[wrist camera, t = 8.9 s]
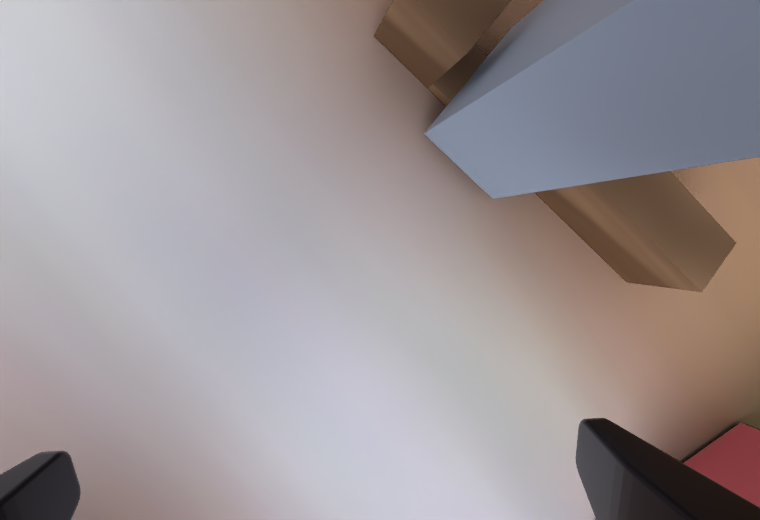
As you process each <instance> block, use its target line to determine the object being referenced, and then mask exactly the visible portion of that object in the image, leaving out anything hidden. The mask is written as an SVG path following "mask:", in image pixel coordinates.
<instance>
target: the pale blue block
mask: <svg viewBox="0 0 760 520" xmlns="http://www.w3.org/2000/svg"><path fill="white" fill-rule="evenodd" d="M424 134H425V135H426V136H427V137H428V138H429V139H430V140H431V141H432V142H433V143H434V144H435V145H436V146H437V147H438V148H439V149H440V150H442V151H443V152H444V153H445V154H446V155H447V156H448V157H449V158H450V159H451V160H452V161H453V162H454V163H455V164H456V165H457V166H458V167H459V168H460V169H462V170H463V171H464V172H465V173H466V174H467V175H468V176H469V177H470V178H471V179H472V180H473V181H474V182H475V183H476V184H477V185H478V186H479V187H480V188H482V189H483V190H484V191H485V192H486V193H487V194H488V195H489V196H490V197H491V198H492V199H496V198H502V197H508V196H515V195H521V194H527V193H534V192H540V191H546V190H553V189H559V188H565V187H572V186H578V185H584V184H591V183H597V182H603V181H610V180H616V179H622V178H629V177H635V176H641V175H648V174H654V173H660V172H667V171H673V170H679V169H686V168H692V167H698V166H705V165H711V164H717V163H724V162H730V161H736V160H743V159H749V158H755V157H760V0H543V1H542V2H541V3H540V4H539V5H537V6H536V7H535V8H534V9H533V10H531V11H530V12H529V13H528V14H527V15H526V16H524V17H523V18H522V19H521V20H520V21H518V22H517V23H516V24H515V25H514V26H512V27H511V29H510V30H509V31H508V32H507V34H506V35H505V36H504V37H503V38H502V40H501V41H500V42H499V43H498V44H497V46H496V47H495V48H494V49H493V50H492V52H491V53H490V54H489V55H488V57H487V58H486V59H485V60H484V61H483V63H482V64H481V65H480V66H479V67H478V69H477V70H476V71H475V72H474V73H473V75H472V76H471V77H470V78H469V80H468V81H467V82H466V83H465V84H464V86H463V87H462V88H461V89H460V90H459V92H458V93H457V94H456V95H455V96H454V98H453V99H452V100H451V101H450V103H449V104H448V105H447V106H446V107H445V109H444V110H443V111H442V112H441V113H440V115H439V116H438V117H437V118H436V119H435V121H434V122H433V123H432V124H431V126H430V127H429V128H428V129H427V130H426V132H425V133H424Z"/></svg>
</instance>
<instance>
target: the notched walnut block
mask: <svg viewBox="0 0 760 520" xmlns="http://www.w3.org/2000/svg"><path fill="white" fill-rule="evenodd" d="M510 1H511V0H393V2H392V4H391V5H390V7H389V9H388V11H387V13H386V15H385V16H384V18H383V20H382V22H381V24H380V25H379V27H378V29H377V31H376V33H375V35H374V37H376V38H377V39H378V40H379V41H380V42H381V43H382V44H383V45H384V46H385V47H386V48H387V49H388V50H389V51H390V52H391V53H392V54H393V55H394V56H395V57H396V58H397V59H398V60H399V61H400V62H401V63H402V64H403V65H404V66H405V67H406V68H407V69H408V70H409V71H410V72H411V73H412V74H414V75H415V76H416V77H417V78H418V79H419V80H420V81H421V82H422V83H423V84H424V85H425V86H426V87H427V88H428V89H429V90H430V91H431V92H432V93H433V94H434V95H435V96H436V97H437V98H438V99H439V100H440V101H441V102H442V103H443V104H444V105H445V106H447V105H448V104H449V103H450V101H451V100H452V99H453V98H454V96H455V95H456V94H457V93H458V92H459V90H460V89H461V88H462V87H463V86H464V84H465V83H466V82H467V81H468V80H469V78H470V77H471V76H472V75H473V73H474V72H475V71H476V70H477V69H478V67H479V66H480V65H481V64H482V63H483V61H484V60H485V59H486V58H487V56H486V55H485V54H484V53H483V52H482V51H481V50H480V49H479V48H478V47H477V46H476V45H475V43H476V42H477V41H478V40H479V39H480V37H481V36H482V35H483V34H484V33H485V31H486V30H487V29H488V28H489V27H490V25H491V24H492V23H493V22H494V20H495V19H496V18H497V17H498V16H499V14H500V13H501V12H502V11H503V10H504V8H505V7H506V6H507V5H508V4H509V2H510ZM535 193H536V194H537V195H538V196H539V197H540V198H541V199H542V200H543V201H544V202H545V203H546V204H547V205H548V206H549V207H550V208H551V209H552V210H553V211H554V212H555V213H556V214H557V215H558V216H559V217H560V218H561V219H562V220H563V221H564V222H565V223H567V224H568V225H569V226H570V227H571V228H572V229H573V230H574V231H575V232H576V233H577V234H578V235H579V236H580V237H581V238H582V239H583V240H584V241H585V242H586V243H587V244H588V245H589V246H590V247H591V248H592V249H593V250H594V251H595V252H596V253H597V254H598V255H599V256H600V257H601V258H602V259H603V260H605V261H606V262H607V263H608V264H609V265H610V266H611V267H612V268H613V269H614V270H615V271H616V272H617V273H618V274H619V275H620V276H621V277H622V278H623V279H624V280H625V281H626V282H629V283H636V284H644V285H652V286H659V287H667V288H675V289H682V290H690V291H698V292H702V291H703V290H704V288H705V287H706V285H707V284H708V283H709V281H710V280H711V278H712V277H713V275H714V274H715V273H716V271H717V270H718V268H719V267H720V265H721V264H722V263H723V261H724V260H725V258H726V257H727V255H728V254H729V253H730V251H731V250H732V248H733V247H734V245H735V244H736V242H735V241H734V240H733V239H732V238H731V237H730V236H729V235H728V233H727V232H726V231H725V230H724V229H723V228H722V227H721V226H720V225H719V224H718V223H717V221H716V220H715V219H714V218H713V217H712V216H711V215H710V214H709V213H708V212H707V211H706V210H705V208H704V207H703V206H702V205H701V204H700V203H699V202H698V201H697V200H696V199H695V198H694V197H693V195H692V194H691V193H690V192H689V191H688V190H687V189H686V188H685V187H684V186H683V185H682V184H681V182H680V181H679V180H678V179H677V178H676V177H675V176H674V175H673V174H672V173H671V172H670V171H667V172H660V173H654V174H648V175H641V176H635V177H629V178H622V179H616V180H610V181H603V182H597V183H591V184H584V185H578V186H572V187H565V188H559V189H553V190H546V191H540V192H535Z"/></svg>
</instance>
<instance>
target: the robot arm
mask: <svg viewBox="0 0 760 520" xmlns="http://www.w3.org/2000/svg"><path fill="white" fill-rule="evenodd" d="M576 465H577V469H578V473H579V475H580V478H581V480H582V483H583V486H584V488H585V491H586V494H587V496H588V499H589V501H590V504H591V507H592V509H593V512H594V515H595V517H596V520H760V507H758V506H756V505H755V504H753V503H751V502H749V501H748V500H746V499H744V498H742V497H741V496H739V495H737V494H736V493H734V492H732V491H730V490H729V489H727V488H725V487H723V486H722V485H720V484H718V483H717V482H715V481H713V480H711V479H710V478H708V477H706V476H704V475H703V474H701V473H699V472H698V471H696V470H694V469H692V468H691V467H689V466H687V465H685V464H684V463H682V462H680V461H678V460H677V459H675V458H673V457H672V456H670V455H668V454H666V453H665V452H663V451H661V450H659V449H658V448H656V447H654V446H653V445H651V444H649V443H647V442H646V441H644V440H642V439H640V438H639V437H637V436H635V435H634V434H632V433H630V432H628V431H627V430H625V429H623V428H621V427H620V426H618V425H616V424H615V423H613V422H611V421H609V420H607V419H605V418H593V419H583V420H582V421H581V422H580V424H579V429H578V440H577V450H576ZM79 499H80V485H79V482H78V478H77V475H76V472H75V469H74V466H73V462H72V459H71V457H70V455H69V454H68V453H67V452H65V451H48V452H41V453H38V454H36V455H34V456H33V457H31V458H29V459H27V460H26V461H24V462H22V463H20V464H18V465H17V466H15V467H13V468H11V469H10V470H8V471H6V472H4V473H3V474H1V475H0V520H71V518H72V516H73V514H74V512H75V509H76V507H77V505H78V502H79Z"/></svg>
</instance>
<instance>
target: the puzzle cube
mask: <svg viewBox="0 0 760 520" xmlns="http://www.w3.org/2000/svg"><path fill="white" fill-rule="evenodd" d="M684 464H685V465H687V466H689V467H691V468H692V469H694V470H696V471H698V472H699V473H701V474H703V475H704V476H706V477H708V478H710V479H711V480H713V481H715V482H717V483H718V484H720V485H722V486H723V487H725V488H727V489H729V490H730V491H732V492H734V493H736V494H737V495H739V496H741V497H742V498H744V499H746V500H748V501H749V502H751V503H753V504H755V505H756V506H758V507H760V429H757V428H755V427H752V426H749V425H747V424H744V423H739V424H738V425H736V426H735V427H734V428H732V429H731V430H729V431H728V432H726V433H725V434H724V435H722V436H721V437H719V438H718V439H717V440H715V441H714V442H712V443H711V444H709V445H708V446H707V447H705V448H704V449H702V450H701V451H700V452H698V453H697V454H695V455H694V456H692V457H691V458H690V459H688V460H687V461H685V462H684Z"/></svg>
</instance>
